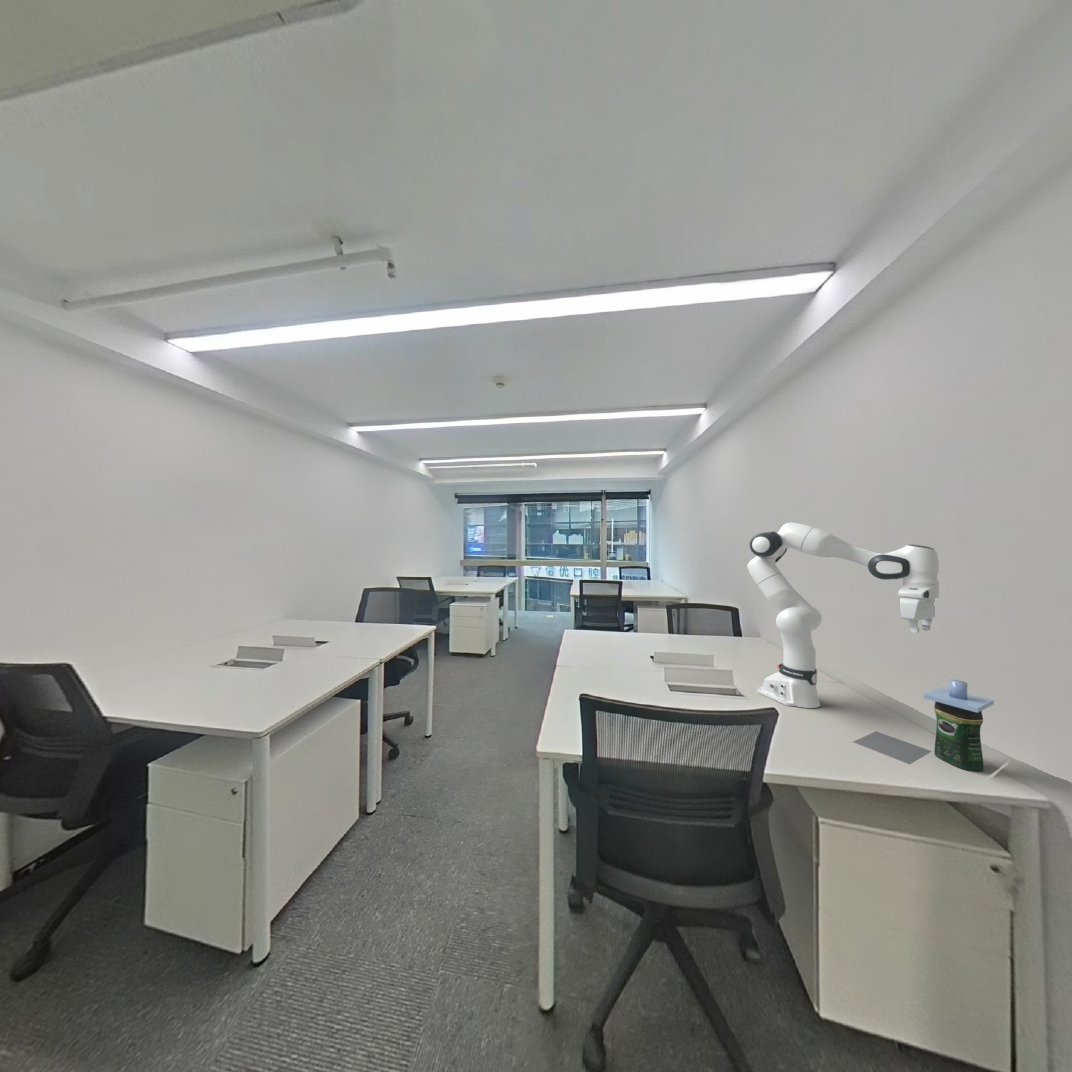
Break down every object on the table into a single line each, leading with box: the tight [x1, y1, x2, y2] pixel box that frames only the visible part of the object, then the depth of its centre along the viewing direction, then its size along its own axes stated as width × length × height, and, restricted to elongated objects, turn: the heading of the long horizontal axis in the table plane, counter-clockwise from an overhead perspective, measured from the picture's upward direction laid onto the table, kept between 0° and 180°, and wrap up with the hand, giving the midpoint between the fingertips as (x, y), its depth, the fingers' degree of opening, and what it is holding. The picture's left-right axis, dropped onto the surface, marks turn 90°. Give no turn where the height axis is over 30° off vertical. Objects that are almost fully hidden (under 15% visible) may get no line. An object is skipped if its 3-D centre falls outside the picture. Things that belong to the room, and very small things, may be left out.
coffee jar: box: [933, 701, 984, 772], centre depth 114 cm, size 10×8×19 cm
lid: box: [923, 679, 995, 713], centre depth 114 cm, size 11×13×6 cm
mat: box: [852, 731, 932, 765], centre depth 122 cm, size 14×16×1 cm
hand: (920, 631), depth 133 cm, fingers open, 8 cm apart
